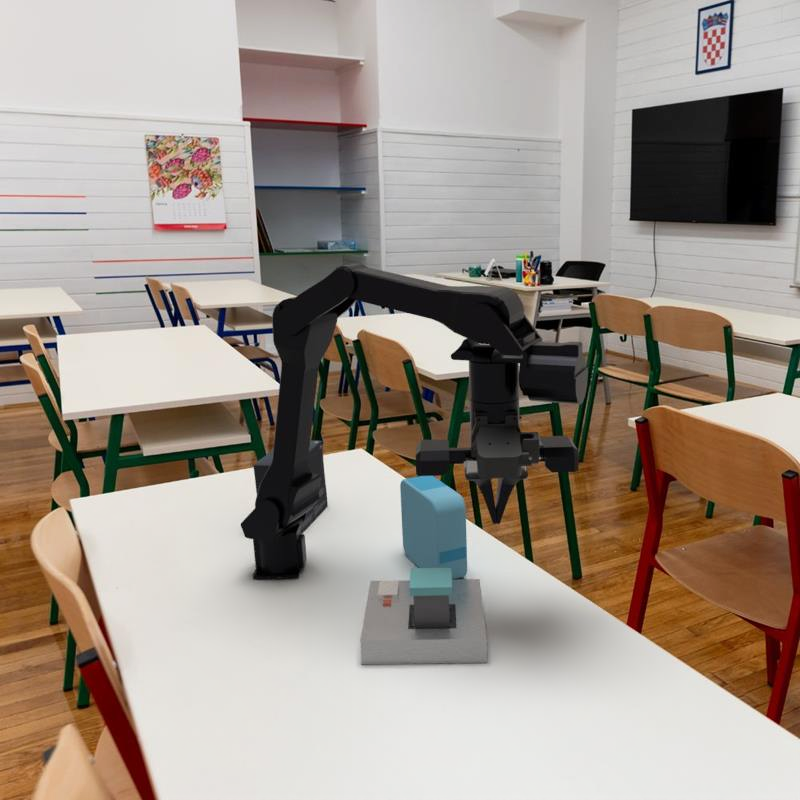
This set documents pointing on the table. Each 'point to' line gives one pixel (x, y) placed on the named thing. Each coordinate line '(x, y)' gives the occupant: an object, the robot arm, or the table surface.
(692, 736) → the table surface
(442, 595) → the plug
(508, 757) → the table surface
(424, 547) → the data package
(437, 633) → the faceplate
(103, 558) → the table surface
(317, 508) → the small box
